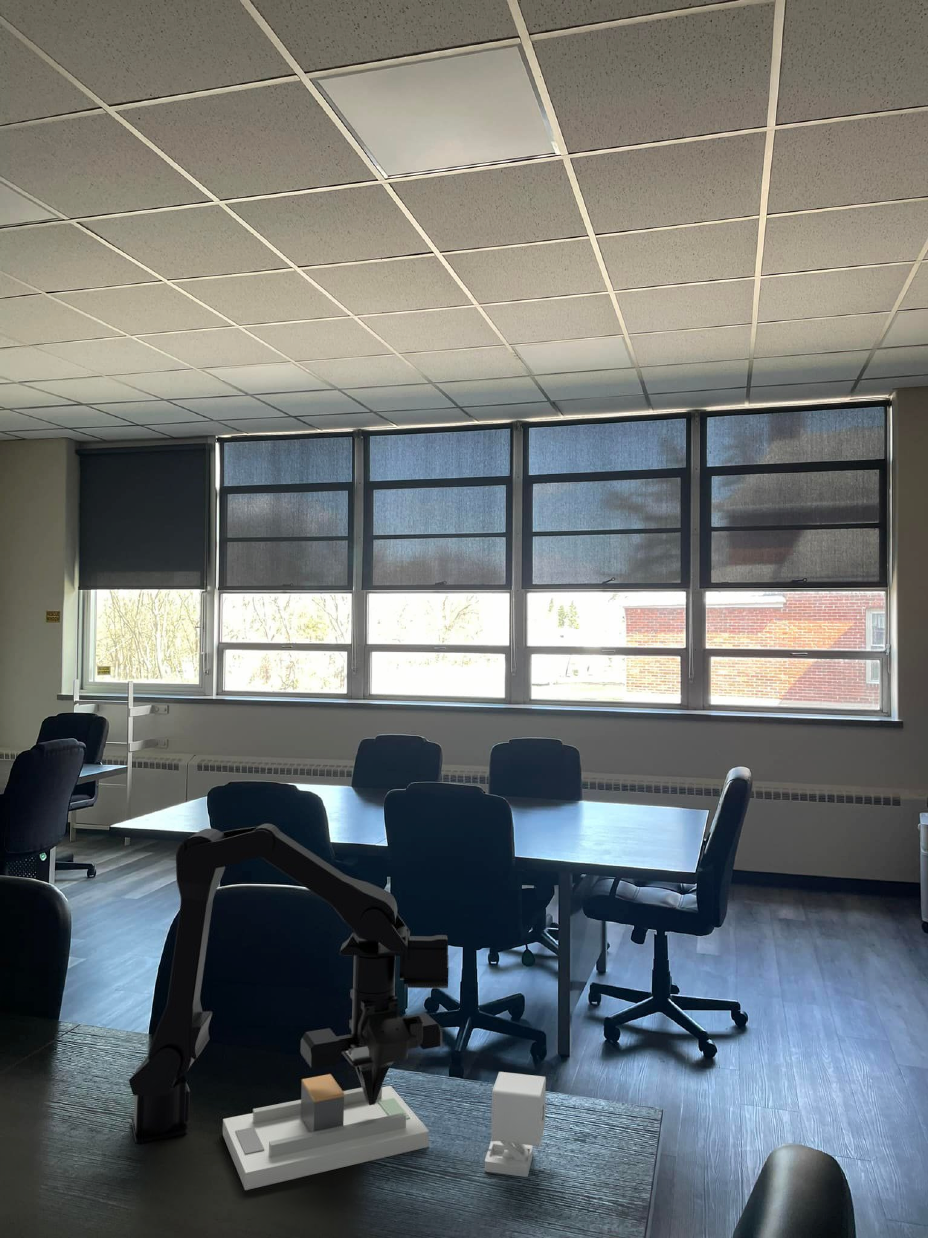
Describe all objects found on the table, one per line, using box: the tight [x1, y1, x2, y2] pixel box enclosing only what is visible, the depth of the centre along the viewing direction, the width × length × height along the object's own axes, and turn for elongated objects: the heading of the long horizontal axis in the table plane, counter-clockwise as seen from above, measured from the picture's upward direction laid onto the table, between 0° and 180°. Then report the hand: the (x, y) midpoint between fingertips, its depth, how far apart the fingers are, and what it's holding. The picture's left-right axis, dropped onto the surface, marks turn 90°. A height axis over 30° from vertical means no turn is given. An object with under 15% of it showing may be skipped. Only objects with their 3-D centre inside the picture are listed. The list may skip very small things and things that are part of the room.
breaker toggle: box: [300, 1073, 344, 1133], centre depth 117 cm, size 4×6×5 cm, turn 26°
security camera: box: [484, 1071, 547, 1178], centre depth 113 cm, size 6×7×10 cm
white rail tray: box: [222, 1085, 430, 1191], centre depth 117 cm, size 24×14×4 cm, turn 116°
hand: (370, 1104), depth 120 cm, fingers closed
